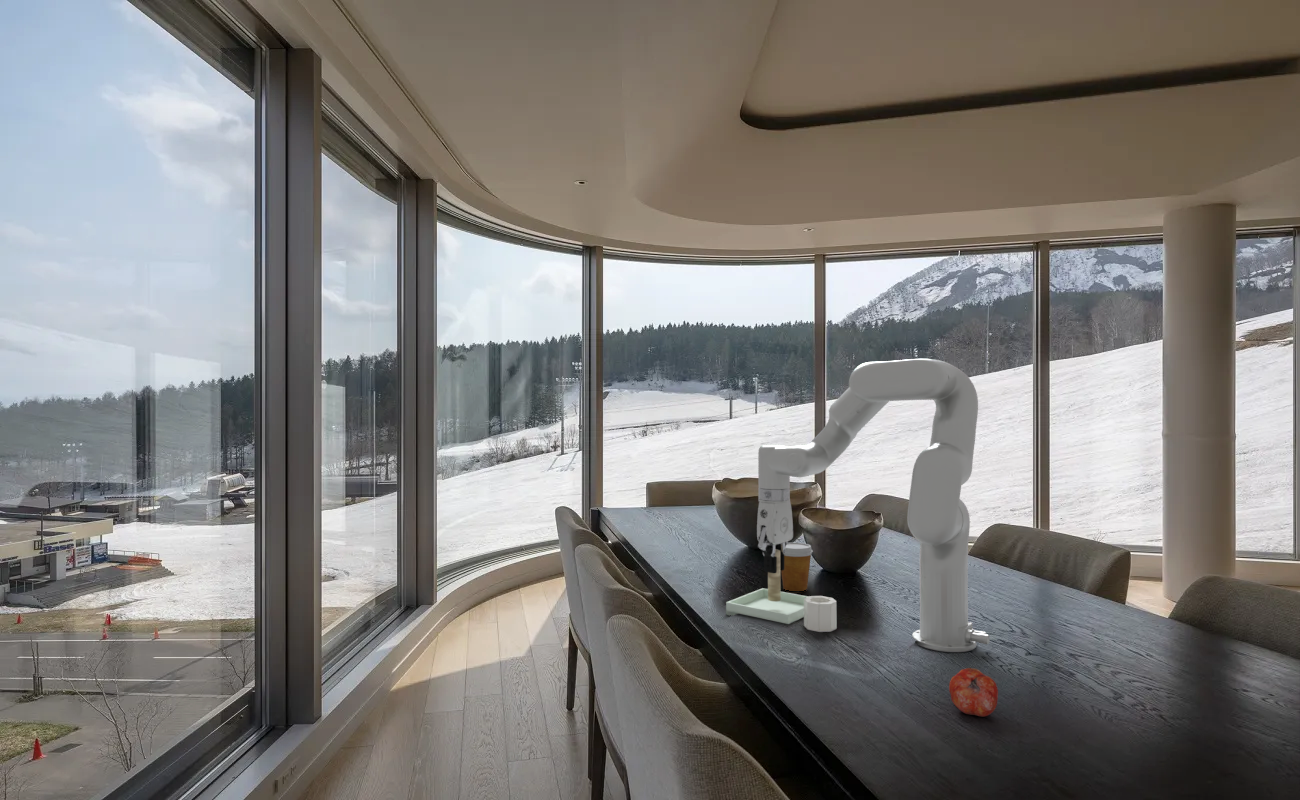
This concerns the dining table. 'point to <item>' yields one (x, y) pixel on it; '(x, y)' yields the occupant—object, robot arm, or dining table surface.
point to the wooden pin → (775, 581)
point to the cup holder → (820, 613)
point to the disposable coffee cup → (796, 566)
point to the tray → (768, 606)
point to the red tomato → (973, 692)
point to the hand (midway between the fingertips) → (774, 570)
